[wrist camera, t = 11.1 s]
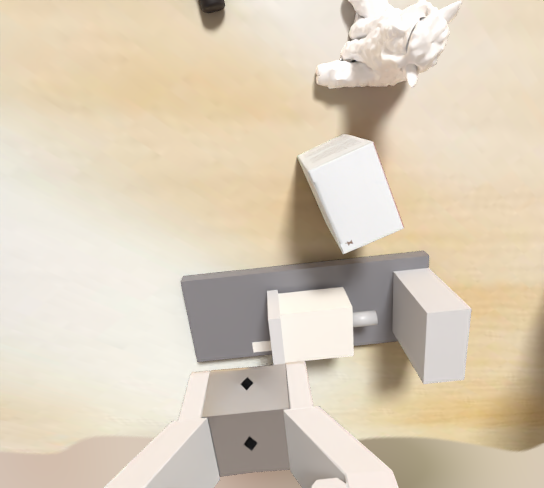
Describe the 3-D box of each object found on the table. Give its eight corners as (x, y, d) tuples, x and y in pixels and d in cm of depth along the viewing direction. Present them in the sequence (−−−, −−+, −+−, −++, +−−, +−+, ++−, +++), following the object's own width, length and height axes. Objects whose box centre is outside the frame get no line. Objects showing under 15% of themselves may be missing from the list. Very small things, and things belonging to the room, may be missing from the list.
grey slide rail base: (199, 354, 46) (182, 420, 37) (183, 276, 43) (160, 326, 33) (419, 331, 46) (462, 391, 36) (423, 250, 42) (472, 294, 33)
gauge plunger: (274, 355, 44) (276, 391, 39) (267, 290, 41) (268, 319, 36) (370, 346, 44) (385, 380, 39) (369, 280, 41) (386, 307, 36)
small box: (370, 200, 40) (406, 230, 30) (323, 221, 41) (343, 257, 31) (345, 131, 38) (375, 139, 28) (295, 154, 38) (307, 171, 28)
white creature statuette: (350, -26, 33) (396, -96, 22) (434, 13, 34) (519, -33, 23) (309, 82, 36) (332, 70, 25) (388, 114, 37) (443, 117, 26)
